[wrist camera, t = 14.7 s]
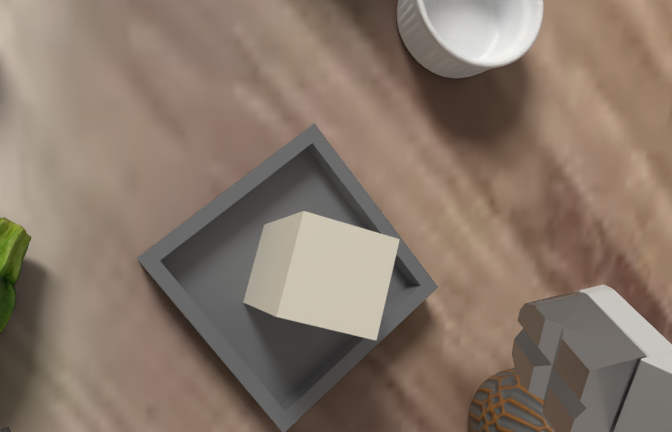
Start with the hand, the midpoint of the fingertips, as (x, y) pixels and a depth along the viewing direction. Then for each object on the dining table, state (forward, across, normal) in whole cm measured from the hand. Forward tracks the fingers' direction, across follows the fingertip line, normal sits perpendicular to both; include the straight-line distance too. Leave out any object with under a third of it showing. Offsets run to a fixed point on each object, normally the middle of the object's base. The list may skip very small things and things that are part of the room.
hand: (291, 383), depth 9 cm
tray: (+20, -3, +14) cm, 25 cm away
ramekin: (+30, -17, +4) cm, 35 cm away
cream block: (+19, -3, +14) cm, 24 cm away
